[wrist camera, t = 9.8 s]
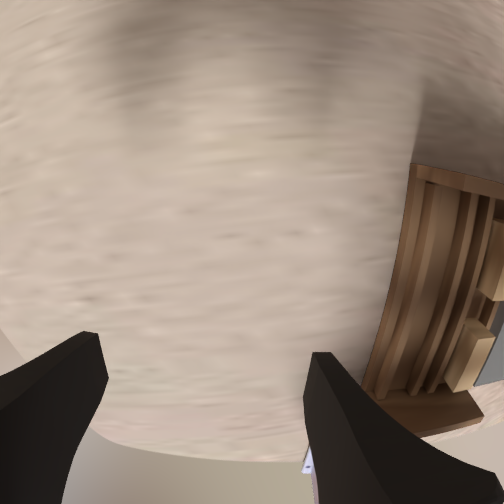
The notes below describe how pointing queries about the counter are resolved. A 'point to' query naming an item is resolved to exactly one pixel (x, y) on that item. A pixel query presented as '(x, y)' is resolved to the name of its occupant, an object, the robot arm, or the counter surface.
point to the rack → (433, 299)
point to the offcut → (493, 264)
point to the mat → (494, 352)
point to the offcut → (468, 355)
